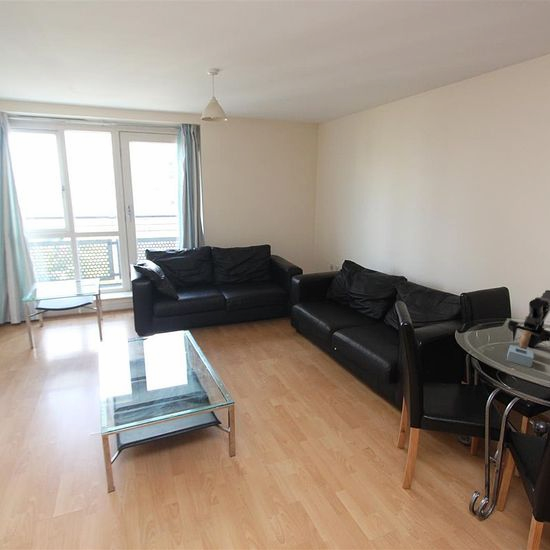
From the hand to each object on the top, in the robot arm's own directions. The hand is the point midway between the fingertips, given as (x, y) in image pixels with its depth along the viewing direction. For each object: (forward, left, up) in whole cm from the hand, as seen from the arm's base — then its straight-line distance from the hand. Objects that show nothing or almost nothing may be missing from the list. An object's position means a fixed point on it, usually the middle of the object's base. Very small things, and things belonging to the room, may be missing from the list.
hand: (523, 343), depth 190 cm
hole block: (+6, +5, -7) cm, 10 cm away
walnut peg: (-1, -1, -7) cm, 7 cm away
